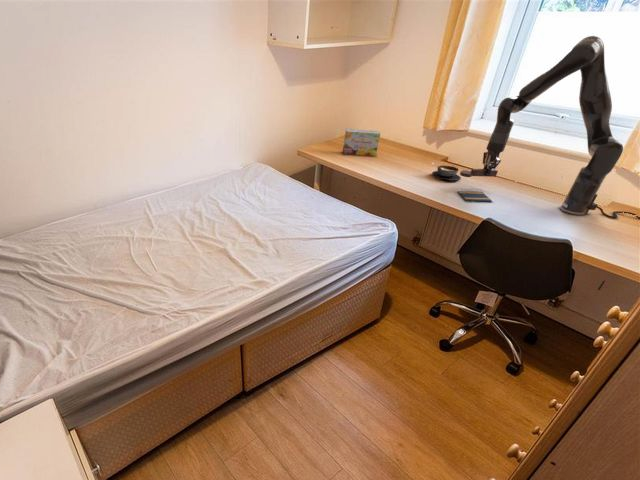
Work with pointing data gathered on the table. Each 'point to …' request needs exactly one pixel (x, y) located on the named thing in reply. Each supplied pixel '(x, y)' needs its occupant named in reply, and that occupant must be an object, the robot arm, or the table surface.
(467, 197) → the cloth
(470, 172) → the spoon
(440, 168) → the black cup and saucer
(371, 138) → the snack box
